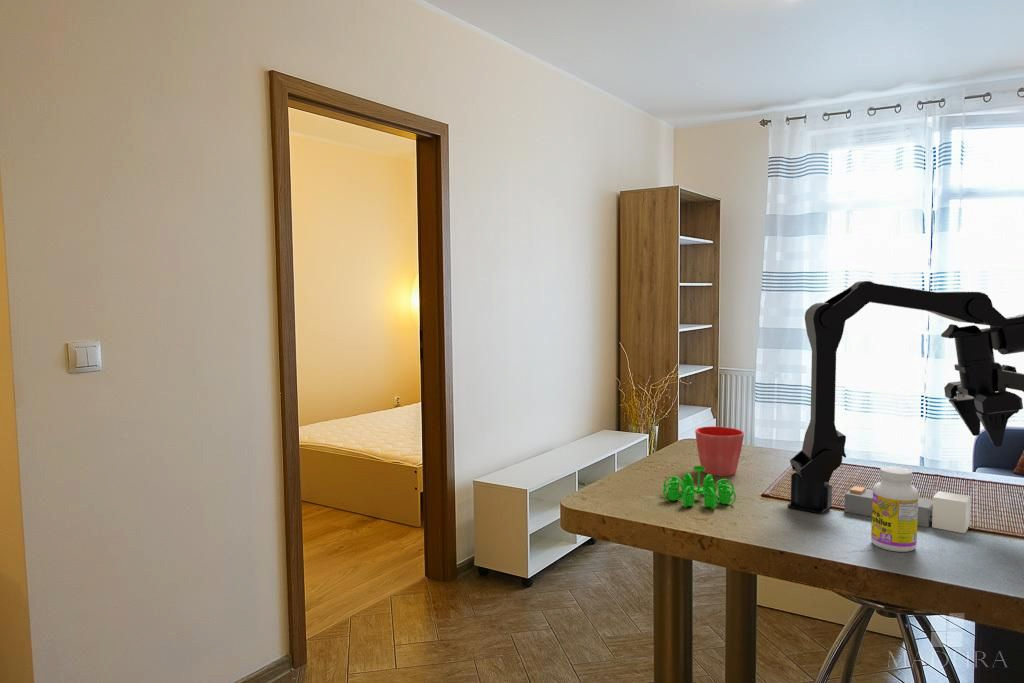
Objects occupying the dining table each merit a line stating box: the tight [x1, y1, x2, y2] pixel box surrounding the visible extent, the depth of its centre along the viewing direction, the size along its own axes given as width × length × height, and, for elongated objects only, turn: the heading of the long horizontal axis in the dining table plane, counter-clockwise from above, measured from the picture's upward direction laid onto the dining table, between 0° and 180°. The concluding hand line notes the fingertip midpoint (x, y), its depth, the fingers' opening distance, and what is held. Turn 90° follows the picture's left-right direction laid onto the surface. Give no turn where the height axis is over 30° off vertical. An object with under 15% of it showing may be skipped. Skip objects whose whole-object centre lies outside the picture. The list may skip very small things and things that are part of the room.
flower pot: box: [694, 426, 745, 477], centre depth 164 cm, size 11×11×10 cm
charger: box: [930, 490, 972, 534], centre depth 127 cm, size 8×5×6 cm, turn 49°
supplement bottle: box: [870, 466, 920, 553], centre depth 117 cm, size 7×7×13 cm
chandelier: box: [662, 465, 737, 510], centre depth 143 cm, size 15×15×7 cm
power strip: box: [844, 485, 933, 528], centre depth 132 cm, size 14×6×4 cm, turn 49°
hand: (986, 440), depth 132 cm, fingers open, 9 cm apart
